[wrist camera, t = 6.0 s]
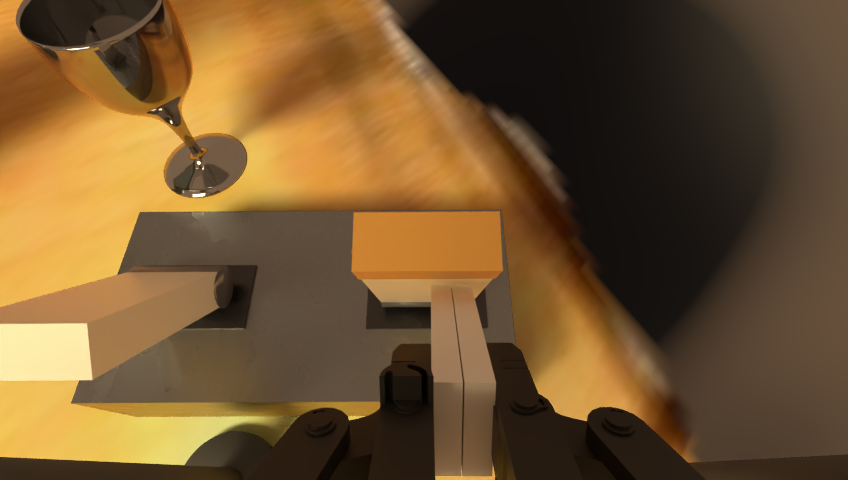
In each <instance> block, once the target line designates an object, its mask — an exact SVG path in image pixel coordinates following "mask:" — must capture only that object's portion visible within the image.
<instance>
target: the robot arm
mask: <svg viewBox="0 0 848 480" xmlns="http://www.w3.org/2000/svg"><path fill="white" fill-rule="evenodd" d="M379 385H380V409H378V410H377V411H376V412H374V413H372V414H370V415H368V416H366V417H362V418H359V419H355V420H350V421H349V419H348V416H347V415H346V414H345V413H344V412H343V411H341V410H338V409H335V408H318V409H313V410H311V411H308V412H306V413H304V414H302V415H301V416H300V417H299V418H298V419H296V420H295V421H294V423H293V424H292V425H291V426H290V428H289V429H288V430H287V431H286V433H285V434H284V435H283V436H282V437H281V439H280V440H279V441H278V442H277V444H276V445H275V446H274V447H273V449H272V450H271V451H270V452H269V453H268V455H267V456H266V457H265V458H264V460H263V461H262V462H261V463H260V464H259V466H258V467H257V468H256V469H255V471H254V472H253V473H252V474H251V476H250V477H249V478H248V479H247V480H435V476H461V465H462V476H492V466H494V471H495V480H706V479H705V478H704V477H703V476H702V475H701V474H699V473H698V472H697V471H696V470H695V469H694V468H693V467H692V466H691V465H690V464H689V463H688V462H687V461H685V460H684V459H683V458H682V457H681V456H680V455H679V454H678V453H677V452H676V451H675V450H674V449H673V448H672V447H670V446H669V445H668V444H667V443H666V442H665V441H664V440H663V439H662V438H661V437H660V436H659V435H658V434H656V433H655V432H654V431H653V430H652V429H651V428H650V427H649V426H648V425H647V424H646V423H645V422H644V421H642V420H641V419H640V418H638V417H637V416H635V415H634V414H632V413H629V412H627V411H625V410H622V409H618V408H613V407H600V408H597V409H594V410H592V411H591V412H590V413H589V415H588V419H587V421H583V420H578V419H573V418H569V417H566V416H562V415H560V414H558V413H556V412H555V411H554V409H553V406H552V405H551V403H550V402H549V401H548V399H546V398H545V397H543V396H542V395H540V394H538V392H537V389H536V387H535V384H534V382H533V379H532V377H531V374H530V372H529V370H528V367H527V364H526V362H525V359H524V357H523V354H522V352H521V350H520V349H518V348H517V347H516V346H515V345H514V344H512V343H486V341H485V337H484V333H483V329H482V325H481V321H480V318H479V314H478V310H477V306H476V302H475V298H474V294H473V290H472V286H471V285H431V344H400V345H399V346H398V347H397V348H396V349H395V350H394V351H393V354H392V360H391V365H390V366H388V367H386V368H385V369H384V370H382V372H381V374H380V376H379Z"/></svg>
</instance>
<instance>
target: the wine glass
mask: <svg viewBox="0 0 848 480" xmlns="http://www.w3.org/2000/svg"><path fill="white" fill-rule="evenodd" d="M16 24H17V27H18V29H19V31H20V32H21V34H22V35H23V36H24V37H25V38H26V39H27V41H28V42H29V43H30V44H31V45H32V46H33V47H34V48H35V49H36V50H37V52H38V53H39V54H40V55H41V56H42V57H43V58H44V59H45V60H46V61H47V62H48V63H49V64H50V65H51V66H52V67H53V68H54V69H55V70H56V71H57V72H58V73H59V74H60V75H61V76H62V77H64V78H65V79H66V80H67V81H68V82H70V83H71V84H72V85H73V86H74V87H76V88H77V89H78V90H79V91H81V92H82V93H84V94H85V95H87V96H88V97H89V98H91V99H92V100H94V101H95V102H97V103H99V104H100V105H102V106H104V107H106V108H108V109H110V110H113V111H116V112H119V113H123V114H128V115H134V116H142V117H150V118H154V119H158V120H160V121H162V122H164V123H165V124H167V125H168V126H169V127H170V128H171V129H172V130H173V131H174V132H175V133H176V134H177V135H178V136H179V137H180V138H181V139H182V141H183V142H184V143H182V144H181V145H179V146H178V147H177V148H176V149H175V150H174V151H173V152H172V153H171V155H170V156H169V158H168V159H167V161H166V164H165V167H164V178H165V182H166V184H167V185H168V187H169V188H170V189H171V190H172V191H173V192H175V193H176V194H179V195H181V196H184V197H189V198H202V197H208V196H212V195H215V194H217V193H220V192H222V191H223V190H225V189H227V188H228V187H230V186H231V185H232V184H233V183H235V182H236V181H237V180H238V178H239V177H240V176H241V174H242V173H243V171H244V169H245V166H246V162H247V155H246V151H245V148H244V146H243V145H242V144H241V143H240V142H239V141H238V140H237V139H235V138H233V137H232V136H229V135H226V134H221V133H209V134H203V135H199V136H196V137H192V135H191V133H190V131H189V129H188V127H187V125H186V123H185V121H184V119H183V116H182V103H183V100H184V98H185V96H186V93H187V91H188V89H189V86H190V84H191V79H192V74H193V64H192V56H191V52H190V49H189V45H188V42H187V39H186V36H185V33H184V31H183V28H182V25H181V22H180V20H179V18H178V16H177V13H176V11H175V9H174V7H173V5H172V3H171V1H170V0H23V2H22V3H21V5H20V7H19V9H18V11H17V15H16Z"/></svg>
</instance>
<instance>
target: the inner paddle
mask: <svg viewBox="0 0 848 480" xmlns="http://www.w3.org/2000/svg"><path fill="white" fill-rule="evenodd" d="M232 294H233V276H232V273H231V271H230V269H229V268H228V267H227V266H136V267H133V268H131V269H130V270H129V271H128V272H127V273H123V274H119V275H116V276H112V277H108V278H105V279H101V280H98V281H94V282H90V283H87V284H83V285H80V286H76V287H72V288H69V289H65V290H61V291H58V292H54V293H51V294H47V295H43V296H40V297H36V298H33V299H29V300H25V301H22V302H18V303H15V304H11V305H7V306H4V307H0V381H25V380H94V379H95V378H97V377H99V376H101V375H102V374H104V373H106V372H108V371H109V370H111V369H113V368H115V367H116V366H118V365H120V364H122V363H123V362H125V361H127V360H129V359H130V358H132V357H134V356H136V355H137V354H139V353H141V352H143V351H144V350H146V349H148V348H150V347H151V346H153V345H155V344H157V343H158V342H160V341H162V340H164V339H165V338H167V337H169V336H170V335H172V334H174V333H176V332H177V331H179V330H181V329H183V328H184V327H186V326H188V325H190V324H191V323H193V322H195V321H197V320H198V319H200V318H202V317H204V316H205V315H207V314H209V313H211V312H212V311H214V310H216V309H218V308H226V307H227V306H228V305H229V303H230V301H231V298H232Z"/></svg>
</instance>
